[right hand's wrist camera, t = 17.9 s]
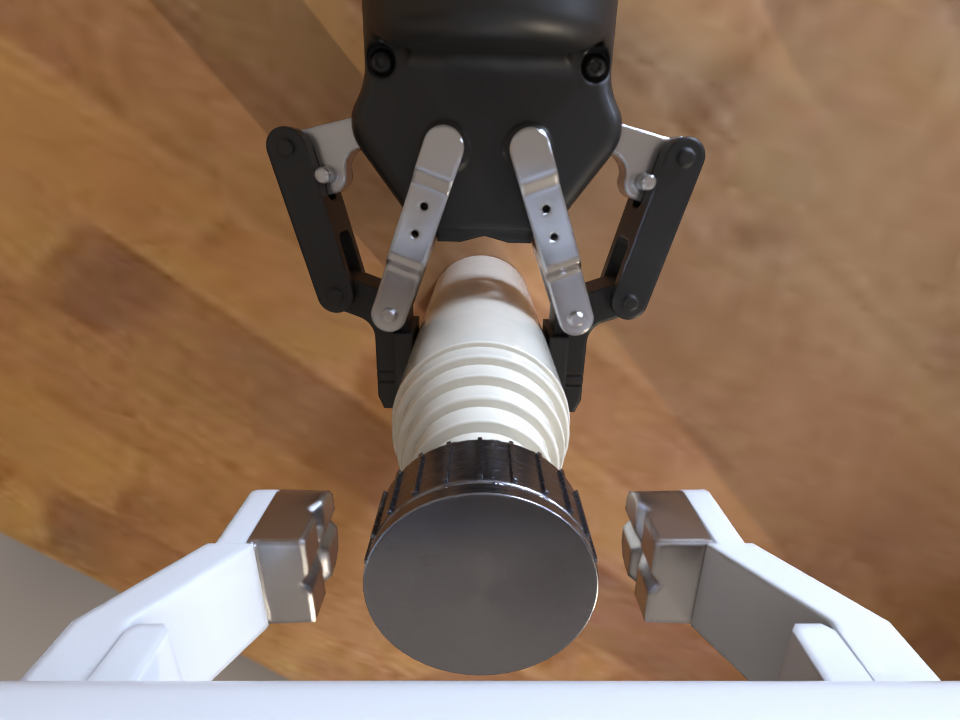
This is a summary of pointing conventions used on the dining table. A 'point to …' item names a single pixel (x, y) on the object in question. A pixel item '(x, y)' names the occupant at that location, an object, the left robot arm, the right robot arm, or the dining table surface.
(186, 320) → the dining table surface
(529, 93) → the left robot arm
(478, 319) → the bottle
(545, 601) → the cap
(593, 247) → the dining table surface
